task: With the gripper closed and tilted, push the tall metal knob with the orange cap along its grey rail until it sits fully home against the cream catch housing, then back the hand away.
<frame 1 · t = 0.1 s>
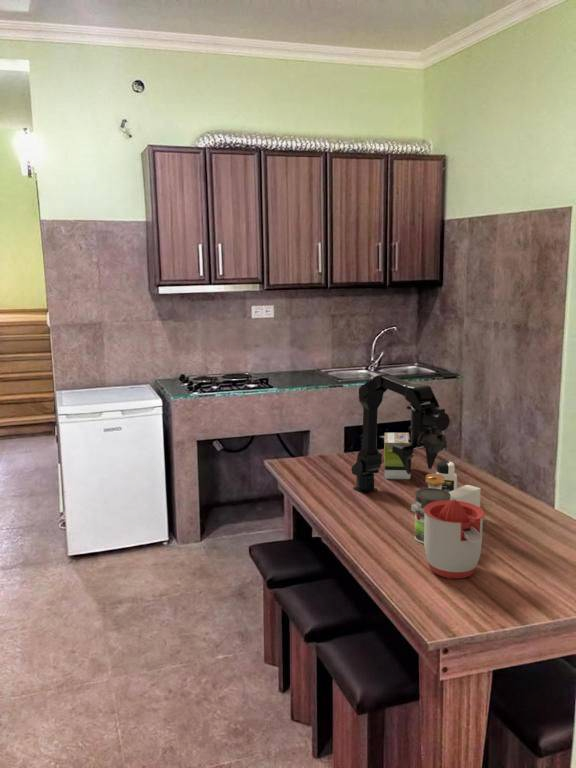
hand: (419, 471, 219), 15 cm above the table, tool pointing down, fingers open, 9 cm apart
citrus juicer: (453, 571, 181), on the table
knob: (434, 490, 221), point 7 cm above the table, slide at 0.0 cm
coffee can: (431, 539, 202), on the table
knob mount: (434, 512, 222), on the table
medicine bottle: (444, 495, 238), on the table
tea box: (397, 473, 263), on the table
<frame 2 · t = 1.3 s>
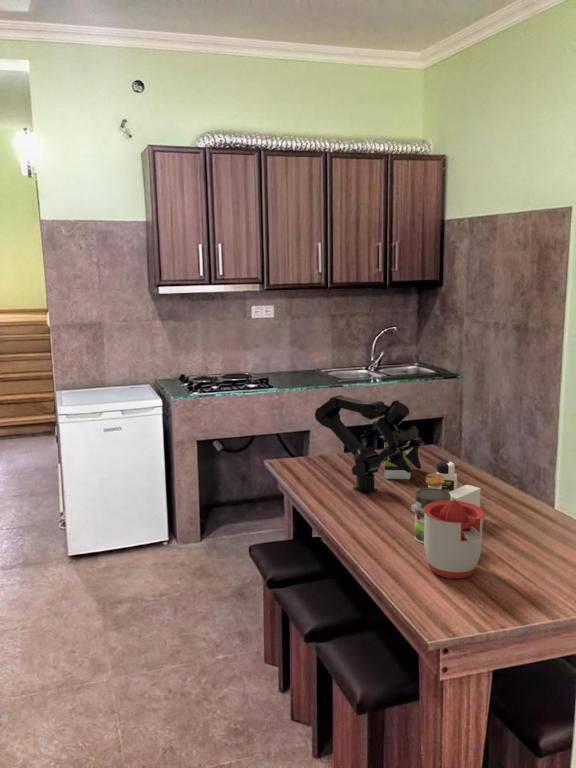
hand: (415, 470, 226), 13 cm above the table, tool tilted 45°, fingers open, 5 cm apart
nothing on the table moved.
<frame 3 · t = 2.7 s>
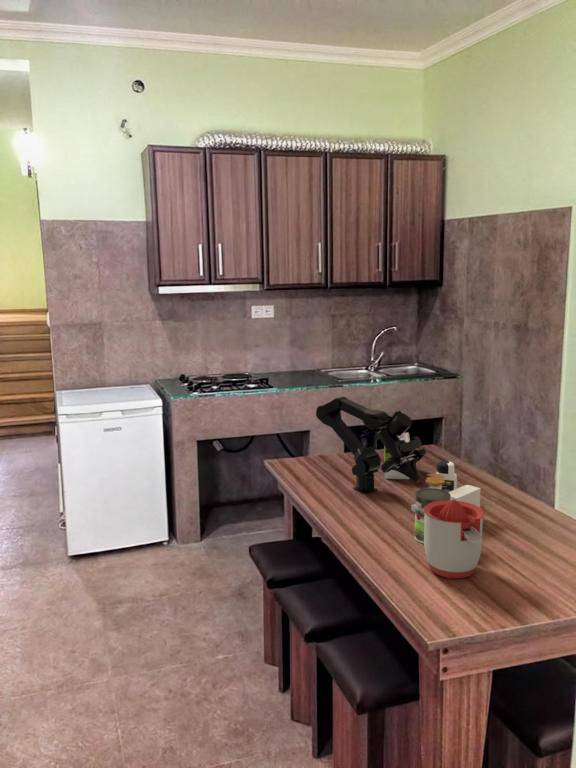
hand: (417, 481, 226), 9 cm above the table, tool tilted 45°, fingers closed
nothing on the table moved.
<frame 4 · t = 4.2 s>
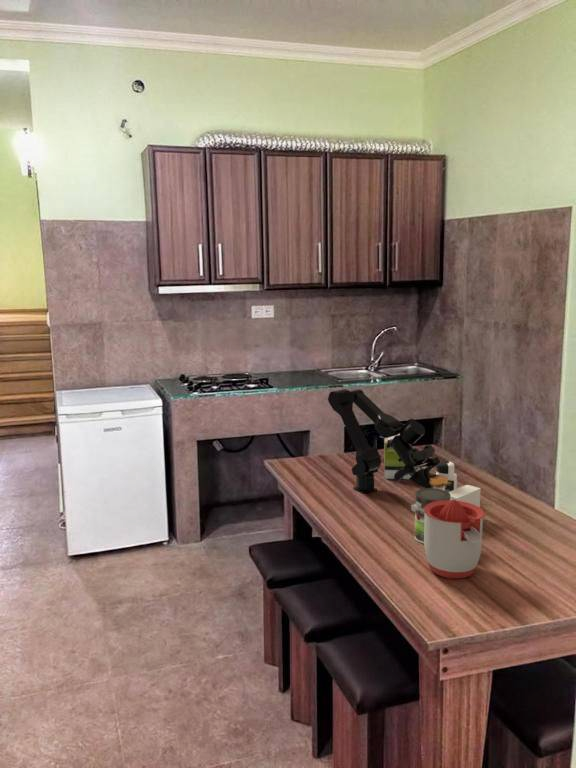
hand: (431, 490, 222), 7 cm above the table, tool tilted 45°, fingers closed, pressing on knob
knob: (437, 491, 220), point 7 cm above the table, slide at 1.3 cm, touching gripper
everything else where it was.
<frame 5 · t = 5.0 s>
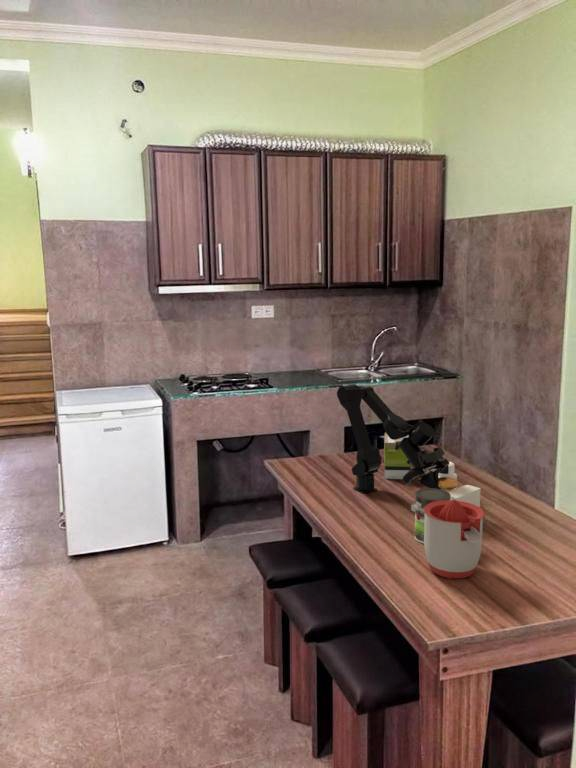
hand: (440, 492, 219), 7 cm above the table, tool tilted 45°, fingers closed, pressing on knob
knob: (447, 494, 217), point 7 cm above the table, slide at 4.8 cm, touching gripper
everything else where it was.
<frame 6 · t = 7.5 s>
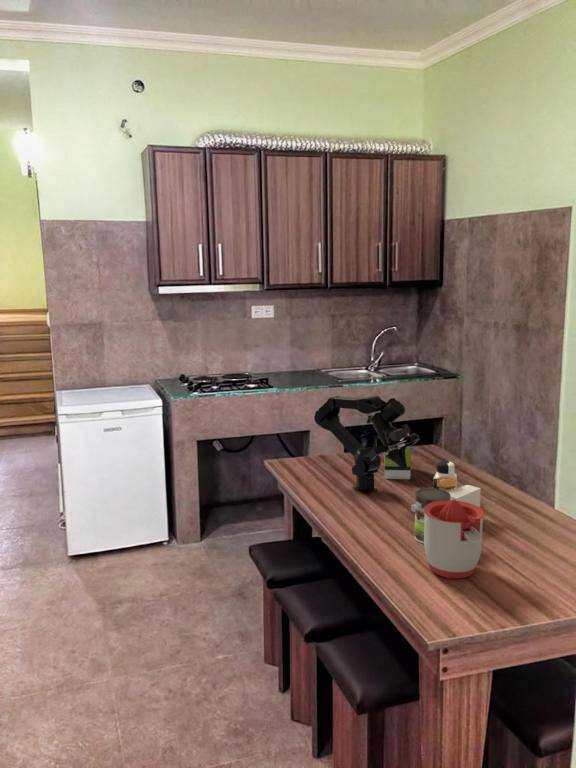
hand: (405, 468, 229), 12 cm above the table, tool tilted 40°, fingers closed
knob: (446, 494, 218), point 7 cm above the table, slide at 4.5 cm
everything else where it was.
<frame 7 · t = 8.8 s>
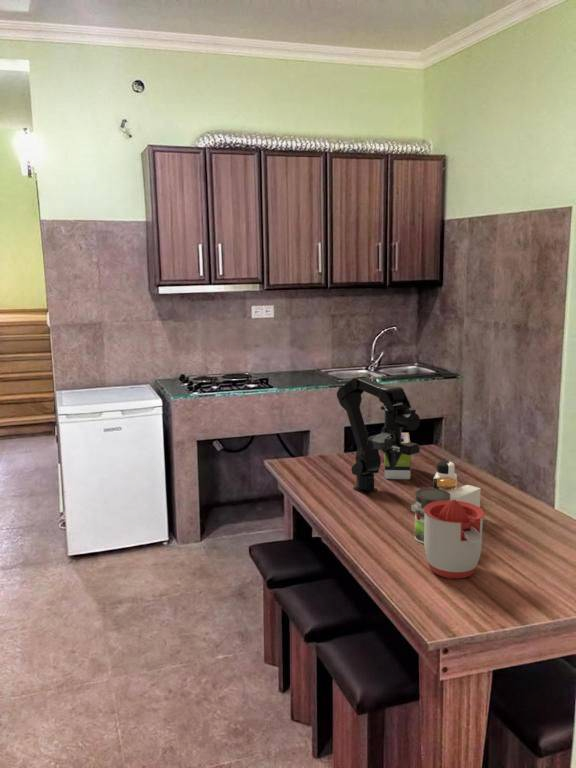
hand: (392, 468, 230), 12 cm above the table, tool pointing down, fingers closed
nothing on the table moved.
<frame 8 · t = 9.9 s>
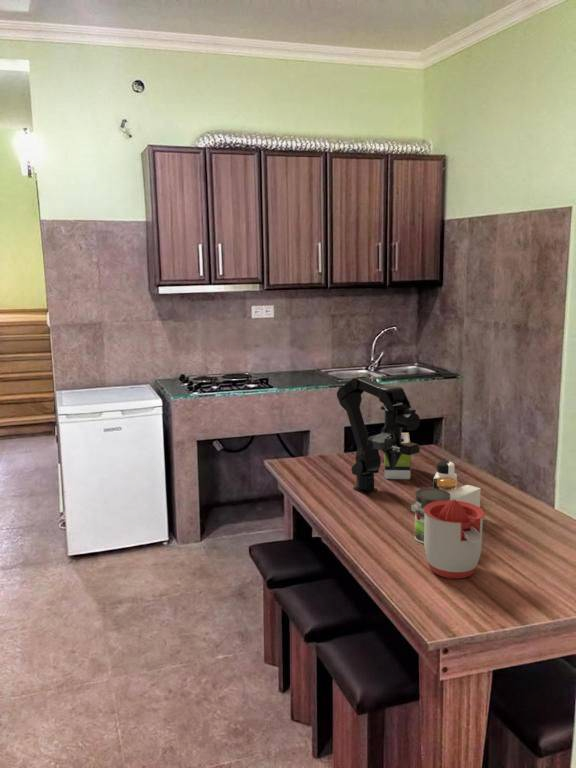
hand: (392, 468, 230), 12 cm above the table, tool pointing down, fingers closed
nothing on the table moved.
at the end: knob slide at 4.5 cm; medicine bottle moved 0.2 cm from its start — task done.
